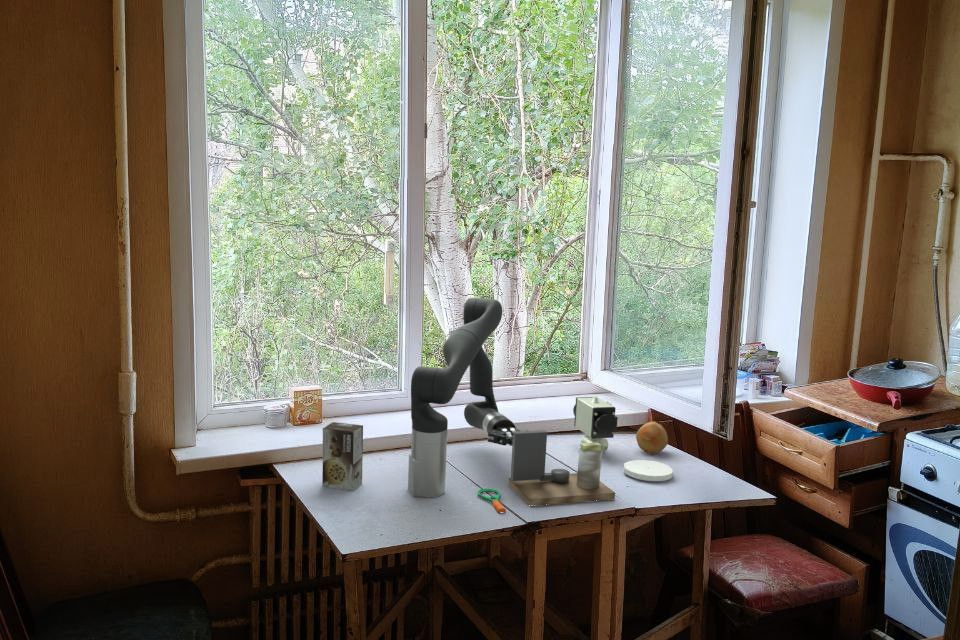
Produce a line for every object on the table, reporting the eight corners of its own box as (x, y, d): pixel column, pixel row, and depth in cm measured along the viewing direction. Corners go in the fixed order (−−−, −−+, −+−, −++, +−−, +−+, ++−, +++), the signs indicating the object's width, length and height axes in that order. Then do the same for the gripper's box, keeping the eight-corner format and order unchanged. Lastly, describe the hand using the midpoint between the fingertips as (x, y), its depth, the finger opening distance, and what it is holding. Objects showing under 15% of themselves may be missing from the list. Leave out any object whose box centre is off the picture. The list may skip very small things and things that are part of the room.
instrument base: (529, 506, 198) (532, 454, 196) (508, 484, 213) (510, 436, 211) (614, 499, 205) (618, 450, 203) (588, 479, 220) (591, 432, 218)
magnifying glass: (474, 493, 206) (474, 487, 206) (496, 492, 208) (496, 486, 208) (490, 515, 192) (490, 509, 192) (513, 514, 193) (513, 507, 193)
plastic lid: (645, 465, 236) (646, 457, 235) (682, 479, 225) (683, 471, 224) (613, 472, 227) (613, 464, 227) (649, 487, 216) (650, 479, 216)
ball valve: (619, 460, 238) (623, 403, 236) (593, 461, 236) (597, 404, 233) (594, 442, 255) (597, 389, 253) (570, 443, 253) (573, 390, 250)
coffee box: (363, 483, 208) (364, 425, 206) (352, 491, 202) (354, 431, 200) (332, 478, 211) (333, 421, 209) (320, 486, 205) (321, 427, 202)
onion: (632, 447, 252) (635, 417, 251) (663, 449, 252) (666, 419, 251) (637, 456, 243) (639, 425, 241) (669, 458, 242) (672, 427, 241)
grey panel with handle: (514, 486, 205) (517, 435, 203) (508, 480, 210) (511, 430, 208) (572, 482, 210) (575, 432, 208) (564, 476, 215) (567, 427, 213)
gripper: (477, 416, 224) (497, 433, 207) (520, 414, 228) (543, 431, 211) (476, 441, 225) (495, 460, 208) (519, 439, 229) (541, 457, 213)
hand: (519, 445), depth 210 cm, fingers closed
